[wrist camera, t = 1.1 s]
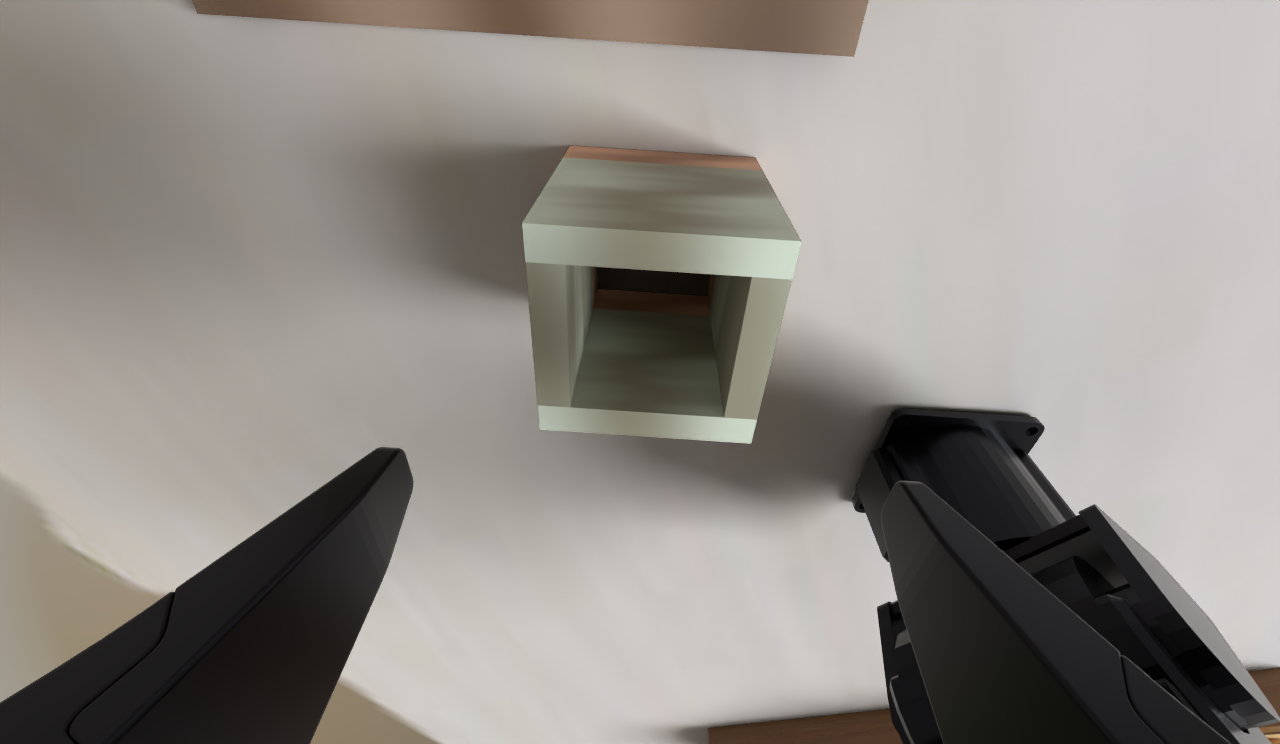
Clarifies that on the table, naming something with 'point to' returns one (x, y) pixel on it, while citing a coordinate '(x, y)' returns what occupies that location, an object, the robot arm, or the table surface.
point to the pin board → (596, 19)
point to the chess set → (873, 738)
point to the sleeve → (656, 322)
